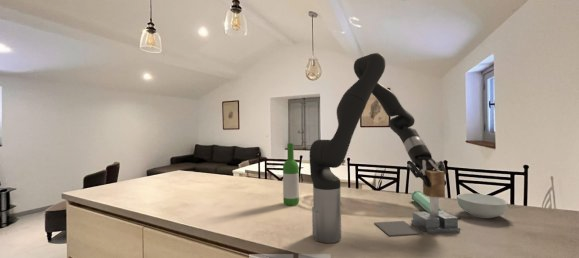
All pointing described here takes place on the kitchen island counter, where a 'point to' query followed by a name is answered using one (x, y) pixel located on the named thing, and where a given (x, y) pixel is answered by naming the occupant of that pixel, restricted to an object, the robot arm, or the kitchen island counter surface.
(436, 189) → the sleeve
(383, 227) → the mat
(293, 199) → the wine bottle
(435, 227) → the vise
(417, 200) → the pale green hexagonal rod
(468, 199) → the cereal bowl
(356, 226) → the kitchen island counter surface
